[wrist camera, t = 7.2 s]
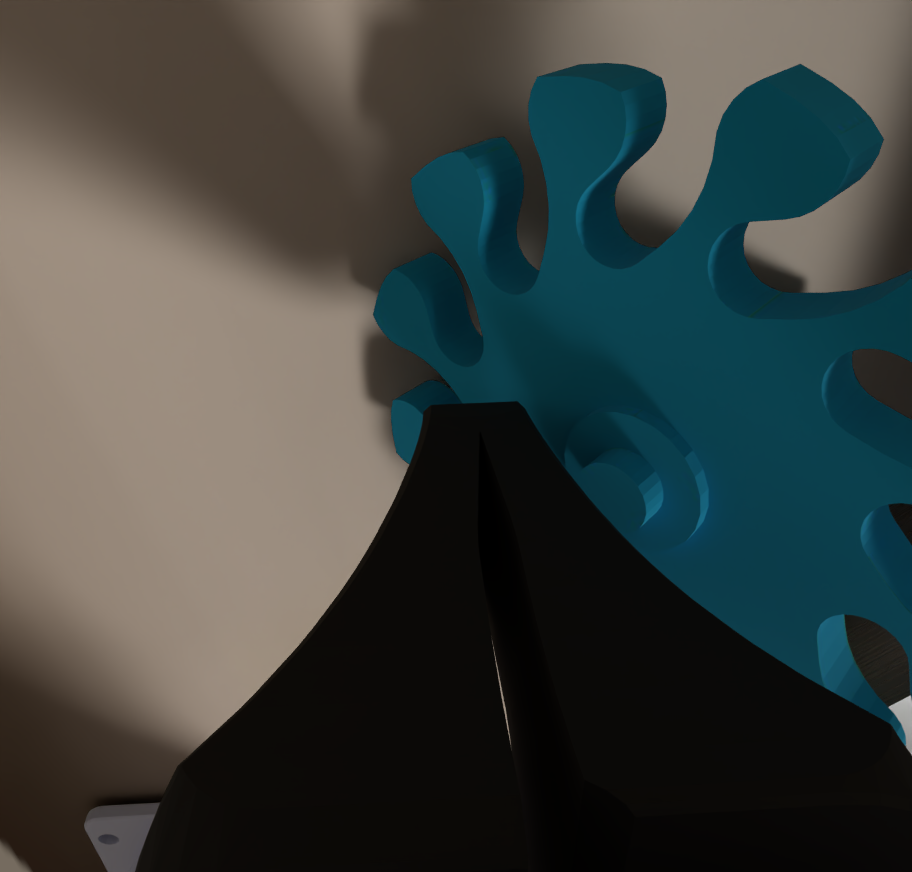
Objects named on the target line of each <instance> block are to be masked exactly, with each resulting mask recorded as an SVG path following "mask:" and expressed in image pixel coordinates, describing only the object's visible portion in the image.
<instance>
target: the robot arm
mask: <svg viewBox="0 0 912 872" xmlns="http://www.w3.org/2000/svg"><path fill="white" fill-rule="evenodd" d="M491 636H492V637H491ZM492 641H493V644H492ZM493 646H494V650H493ZM494 652H495V656H494ZM495 657H496V661H495ZM496 662H497V667H498V672H499V677H500V682H501V687H502V692H503V697H504V702H505V707H506V713H507V720H508V726H509V733H510V740H511V745H510V740H509V735H508V729H507V724H506V719H505V713H504V708H503V703H502V697H501V691H500V685H499V679H498V673H497V667H496ZM511 750H512V751H511ZM84 828H85V831H86V832H87V834H88V836H89V838H90V840H91V842H92V843H93V845H94V847H95V849H96V851H97V853H98V855H99V856H100V858H101V860H102V862H103V864H104V866H105V867H106V869H107V871H108V872H912V755H911V753H910V752H909V750H908V749H907V748H906V746H905V745H904V743H903V742H902V741H901V739H900V738H899V736H898V735H897V733H896V731H895V730H894V728H893V726H892V725H891V724H890V723H888V722H886V721H884V720H883V719H881V718H879V717H877V716H875V715H874V714H872V713H870V712H868V711H866V710H865V709H863V708H861V707H859V706H857V705H855V704H854V703H852V702H850V701H848V700H846V699H845V698H843V697H841V696H839V695H837V694H836V693H834V692H832V691H830V690H828V689H827V688H825V687H823V686H821V685H819V684H817V683H816V682H814V681H812V680H810V679H808V678H807V677H805V676H803V675H802V674H800V673H798V672H797V671H795V670H794V669H792V668H791V667H789V666H787V665H786V664H784V663H783V662H781V661H780V660H778V659H777V658H775V657H773V656H772V655H770V654H769V653H767V652H766V651H764V650H762V649H761V648H759V647H758V646H756V645H755V644H753V643H752V642H750V641H749V640H747V639H746V638H745V637H743V636H742V635H740V634H739V633H737V632H736V631H735V630H733V629H732V628H731V627H729V626H728V625H727V624H725V623H724V622H723V621H721V620H720V619H719V618H717V617H716V616H714V615H713V614H712V613H710V612H709V611H708V610H706V609H705V608H704V607H702V606H701V605H700V604H698V603H697V602H696V601H694V600H693V599H692V598H690V597H689V596H688V595H687V594H686V593H684V592H683V591H682V590H681V589H680V588H679V587H677V586H676V585H675V584H674V583H673V582H671V581H670V580H669V579H668V578H667V577H666V576H665V575H663V574H662V573H661V572H660V571H659V570H658V569H657V568H656V567H655V566H654V565H652V564H651V563H650V562H649V561H648V560H647V559H646V558H645V557H644V556H643V555H642V554H641V553H640V552H639V551H638V550H637V549H636V548H635V547H634V546H633V545H632V544H631V543H630V542H629V541H628V540H627V539H626V538H625V537H624V536H623V535H622V534H621V533H620V532H619V531H618V530H617V529H616V528H615V527H614V526H613V525H612V523H611V522H610V521H609V520H608V519H607V518H606V517H605V516H604V515H603V514H602V513H601V511H600V510H599V509H598V508H597V507H596V506H595V505H594V503H593V502H592V501H591V500H590V499H589V498H588V496H587V495H586V494H585V493H584V491H583V490H582V489H581V488H580V486H579V485H578V484H577V483H576V481H575V480H574V479H573V478H572V476H571V475H570V474H569V473H568V471H567V470H566V469H565V468H564V466H563V465H562V464H561V462H560V461H559V460H558V458H557V457H556V455H555V454H554V453H553V451H552V450H551V448H550V447H549V446H548V444H547V443H546V441H545V440H544V438H543V437H542V435H541V434H540V432H539V431H538V429H537V428H536V426H535V425H534V423H533V421H532V420H531V418H530V416H529V415H528V413H527V411H526V409H525V408H524V407H523V406H522V405H521V404H520V403H519V402H518V401H510V402H486V403H462V404H438V405H430V406H429V407H428V408H427V409H426V410H425V411H424V412H423V421H422V426H421V431H420V435H419V438H418V442H417V445H416V448H415V451H414V454H413V456H412V459H411V462H410V465H409V467H408V469H407V472H406V474H405V476H404V479H403V481H402V483H401V486H400V488H399V491H398V493H397V495H396V497H395V499H394V502H393V504H392V506H391V507H390V509H389V511H388V513H387V515H386V517H385V519H384V521H383V523H382V524H381V526H380V528H379V530H378V532H377V534H376V536H375V538H374V540H373V541H372V543H371V545H370V546H369V548H368V550H367V551H366V553H365V555H364V556H363V558H362V560H361V561H360V563H359V564H358V566H357V568H356V569H355V571H354V572H353V574H352V575H351V577H350V578H349V580H348V581H347V583H346V584H345V586H344V587H343V589H342V590H341V591H340V593H339V594H338V596H337V597H336V598H335V600H334V601H333V602H332V604H331V605H330V606H329V608H328V609H327V610H326V612H325V613H324V614H323V616H322V617H321V618H320V620H319V621H318V622H317V624H316V625H315V626H314V627H313V629H312V630H311V631H310V632H309V634H308V635H307V636H306V637H305V639H304V640H303V641H302V642H301V643H300V645H299V646H298V647H297V648H296V649H295V650H294V651H293V653H292V654H291V655H290V656H289V657H288V658H287V659H286V660H285V661H284V662H283V663H282V665H281V666H280V667H279V668H278V669H277V670H276V671H275V672H274V673H273V674H272V675H271V677H270V678H269V679H268V680H267V681H266V682H265V683H264V684H263V685H262V686H261V687H260V689H259V690H258V691H257V692H256V693H255V694H254V695H253V696H252V697H251V698H250V699H249V700H248V701H247V702H246V703H245V704H244V705H243V706H242V707H241V708H240V709H239V710H238V711H237V712H236V713H235V714H234V715H233V716H232V717H230V718H229V719H228V720H227V721H226V722H225V723H224V724H223V725H222V726H221V727H220V728H219V729H217V730H216V731H215V732H214V733H213V734H212V735H211V736H210V737H209V738H208V739H207V740H206V741H204V742H203V743H202V744H201V745H200V746H199V747H198V748H197V749H196V750H195V751H194V752H193V753H191V754H190V755H189V756H188V757H187V758H186V759H185V760H184V761H183V762H181V763H180V764H179V765H178V766H177V768H176V770H175V772H174V774H173V776H172V778H171V780H170V783H169V785H168V787H167V789H166V791H165V793H164V796H163V798H162V800H161V802H158V803H141V804H123V805H106V806H98V807H95V808H93V809H92V810H90V811H89V812H88V814H87V817H86V820H85V823H84Z"/></svg>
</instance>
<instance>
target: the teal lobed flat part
mask: <svg viewBox="0 0 912 872" xmlns="http://www.w3.org/2000/svg"><path fill="white" fill-rule="evenodd" d="M666 107H667V103H666V91H665V88H664V84H663V81H662V78H661V77H659V76H657V75H655V74H653V73H651V72H649V71H647V70H645V69H642V68H638V67H634V66H630V65H626V64H612V63H598V64H580V65H576V66H573V67H570V68H566V69H563V70H559V71H556V72H552V73H549V74H546V75H542V76H539V77H537V79H536V81H535V83H534V85H533V88H532V90H531V94H530V100H529V105H528V120H529V125H530V130H531V135H532V138H533V141H534V143H535V146H536V149H537V151H538V154H539V156H540V159H541V163H542V168H543V172H544V176H545V180H546V186H547V195H548V204H549V219H548V234H547V240H546V245H545V251H544V255H543V259H542V263H541V267H540V271H538V270H537V269H535V268H534V267H533V266H532V265H531V264H530V263H529V262H528V261H527V260H526V258H525V257H524V255H523V253H522V251H521V249H520V247H519V243H518V240H517V231H516V229H517V221H518V216H519V211H520V207H521V202H522V198H523V191H524V178H523V172H522V168H521V164H520V161H519V159H518V156H517V154H516V152H515V151H514V149H513V148H512V146H511V144H510V143H509V142H508V141H507V140H506V139H505V138H504V137H500V138H491V139H488V140H485V141H482V142H479V143H477V144H474V145H471V146H468V147H465V148H462V149H459V150H456V151H453V152H451V153H448V154H445V155H443V156H440V157H438V158H436V159H435V160H433V161H432V162H430V163H429V164H427V165H426V166H425V167H423V168H422V169H421V170H420V171H419V172H418V173H417V174H416V175H415V176H413V177H412V178H411V183H412V192H413V196H414V200H415V203H416V206H417V208H418V210H419V212H420V214H421V216H422V217H423V219H424V220H425V222H426V223H427V225H428V226H429V227H430V228H431V229H432V230H433V231H434V232H435V233H436V234H437V235H438V236H439V237H440V238H441V240H442V241H443V243H444V244H445V245H446V247H447V248H448V249H449V251H450V252H451V253H452V255H453V257H454V258H455V260H456V262H457V264H458V265H459V267H460V269H461V270H462V272H463V274H464V277H465V279H466V281H467V284H468V286H469V288H470V291H471V294H472V297H473V300H474V304H475V307H476V310H477V314H478V318H479V323H480V327H481V331H482V335H483V337H482V336H481V335H480V334H479V333H478V332H477V330H476V329H475V327H474V325H473V323H472V321H471V318H470V316H469V312H468V308H467V304H466V300H465V295H464V291H463V288H462V285H461V282H460V280H459V278H458V276H457V274H456V273H455V271H454V270H453V268H452V267H451V266H450V265H449V264H448V263H447V262H446V261H445V260H444V259H443V258H441V257H440V256H439V255H436V254H434V253H432V252H431V253H429V254H427V255H424V256H422V257H420V258H418V259H415V260H413V261H411V262H409V263H406V264H404V265H402V266H399V267H397V268H395V269H393V270H392V271H391V272H390V273H389V274H388V275H387V276H386V278H385V280H384V282H383V284H382V285H381V288H380V291H379V294H378V297H377V300H376V305H375V309H374V313H373V316H374V318H375V320H376V322H377V324H378V326H379V327H380V328H381V330H382V331H383V333H384V334H385V335H386V336H387V337H388V338H389V339H390V340H391V341H392V342H394V343H395V344H396V345H398V346H400V347H402V348H405V349H407V350H409V351H411V352H413V353H414V354H416V355H417V356H419V357H420V358H422V359H423V360H425V361H426V362H427V363H428V364H429V365H430V366H432V367H433V368H434V369H435V370H436V371H437V372H438V373H439V374H440V375H441V376H442V377H443V378H444V379H445V380H446V382H447V383H448V384H449V385H450V387H451V388H452V389H453V391H454V392H455V393H456V394H455V393H454V392H453V391H452V390H451V389H450V388H449V387H447V386H446V385H445V384H443V383H440V382H438V381H433V380H431V381H426V382H424V383H422V384H421V385H419V386H417V387H415V388H414V389H412V390H410V391H409V392H407V393H405V394H403V395H402V396H400V397H398V398H396V399H395V400H393V403H392V409H391V423H392V431H393V437H394V442H395V447H396V452H397V453H398V455H399V456H400V457H401V458H402V459H403V460H404V461H406V462H407V463H408V464H410V462H411V459H412V456H413V454H414V451H415V448H416V445H417V442H418V438H419V435H420V431H421V426H422V421H423V412H424V411H425V410H426V409H427V408H428V407H429V406H430V405H438V404H462V403H486V402H510V401H518V402H519V403H520V404H521V405H522V406H523V407H524V408H525V409H526V411H527V413H528V415H529V416H530V418H531V420H532V421H533V423H534V425H535V426H536V428H537V429H538V431H539V432H540V434H541V435H542V437H543V438H544V440H545V441H546V443H547V444H548V446H549V447H550V448H551V450H552V451H553V453H554V454H555V455H556V457H557V458H558V460H559V461H560V462H561V464H562V465H563V466H564V468H565V469H566V470H567V471H568V473H569V474H570V475H571V476H572V478H573V479H574V480H575V481H576V483H577V484H578V485H579V486H580V488H581V489H582V490H583V491H584V493H585V494H586V495H587V496H588V498H589V499H590V500H591V501H592V502H593V503H594V505H595V506H596V507H597V508H598V509H599V510H600V511H601V513H602V514H603V515H604V516H605V517H606V518H607V519H608V520H609V521H610V522H611V523H612V525H613V526H614V527H615V528H616V529H617V530H618V531H619V532H620V533H621V534H622V535H623V536H624V537H625V538H626V539H627V540H628V541H629V542H630V543H631V544H632V545H633V546H634V547H635V548H636V549H637V550H638V551H639V552H640V553H641V554H642V555H643V556H644V557H645V558H646V559H647V560H648V561H649V562H650V563H651V564H652V565H654V566H655V567H656V568H657V569H658V570H659V571H660V572H661V573H662V574H663V575H665V576H666V577H667V578H668V579H669V580H670V581H671V582H673V583H674V584H675V585H676V586H677V587H679V588H680V589H681V590H682V591H683V592H684V593H686V594H687V595H688V596H689V597H690V598H692V599H693V600H694V601H696V602H697V603H698V604H700V605H701V606H702V607H704V608H705V609H706V610H708V611H709V612H710V613H712V614H713V615H714V616H716V617H717V618H719V619H720V620H721V621H723V622H724V623H725V624H727V625H728V626H729V627H731V628H732V629H733V630H735V631H736V632H737V633H739V634H740V635H742V636H743V637H745V638H746V639H747V640H749V641H750V642H752V643H753V644H755V645H756V646H758V647H759V648H761V649H762V650H764V651H766V652H767V653H769V654H770V655H772V656H773V657H775V658H777V659H778V660H780V661H781V662H783V663H784V664H786V665H787V666H789V667H791V668H792V669H794V670H795V671H797V672H798V673H800V674H802V675H803V676H805V677H807V678H808V679H810V680H812V681H814V682H816V683H817V684H819V685H821V686H823V687H825V688H827V689H828V690H830V691H832V692H834V693H836V694H837V695H839V696H841V697H843V698H845V699H846V700H848V701H850V702H852V703H854V704H855V705H857V706H859V707H861V708H863V709H865V710H866V711H868V712H870V713H872V714H874V715H875V716H877V717H879V718H881V719H883V720H884V721H886V722H888V723H890V724H891V725H892V726H893V728H894V730H895V731H896V733H897V735H898V736H899V738H900V739H901V741H902V742H903V743H904V745H905V746H906V735H905V732H904V730H903V727H902V724H901V723H900V721H899V720H898V718H897V717H896V715H895V714H894V713H893V712H892V711H891V710H890V709H889V707H888V706H887V705H886V704H885V703H884V702H883V701H882V700H881V699H880V698H879V697H878V696H877V694H876V693H875V692H874V690H873V689H872V688H871V686H870V685H869V684H868V682H867V681H866V680H865V678H864V676H863V675H862V673H861V671H860V669H859V667H858V666H857V664H856V662H855V660H854V657H853V655H852V652H851V649H850V647H849V644H848V640H847V634H846V628H845V618H844V615H855V616H859V617H863V618H866V619H868V620H870V621H873V622H875V623H877V624H878V625H880V626H881V627H883V628H884V629H886V630H887V631H888V632H890V633H891V634H892V635H893V636H894V637H895V638H896V639H897V640H898V642H899V643H900V644H901V645H902V647H903V648H904V651H905V653H906V655H907V657H908V662H909V677H910V694H911V700H912V545H911V544H910V542H909V541H908V539H907V538H906V536H905V535H904V533H903V532H902V530H901V529H900V527H899V526H898V524H897V523H896V521H895V520H894V518H893V516H892V514H891V512H890V510H889V506H888V504H897V503H905V504H912V420H911V419H909V418H907V417H906V416H904V415H902V414H900V413H899V412H897V411H895V410H893V409H891V408H890V407H888V406H886V405H884V404H883V403H881V402H879V401H878V400H876V399H875V398H873V397H872V396H870V395H869V394H868V393H867V392H866V391H865V390H864V389H863V388H862V387H861V385H860V384H859V382H858V380H857V378H856V377H855V374H854V370H853V367H852V354H853V351H855V350H859V349H879V350H884V351H889V352H891V353H893V354H896V355H898V356H901V357H903V358H905V359H906V360H908V361H910V362H912V270H910V271H909V272H907V273H905V274H903V275H900V276H898V277H895V278H893V279H891V280H888V281H886V282H883V283H881V284H878V285H873V286H869V287H865V288H861V289H857V290H853V291H841V292H829V293H790V292H781V291H778V290H775V289H773V288H770V287H769V286H767V285H766V284H764V283H762V282H761V281H760V280H759V279H758V278H757V277H756V276H755V275H754V274H753V272H752V271H751V269H750V267H749V266H748V264H747V261H746V258H745V255H744V246H743V242H744V234H745V231H746V228H747V226H748V223H749V222H753V221H768V220H783V219H790V218H795V217H800V216H803V215H805V214H807V213H810V212H812V211H814V210H816V209H817V208H819V207H820V206H822V205H823V204H825V203H826V202H828V201H829V200H831V199H832V198H834V197H835V196H837V195H838V194H840V193H841V192H843V191H844V190H846V189H847V188H849V187H850V186H851V185H853V184H854V183H856V182H857V181H858V180H860V179H861V178H862V177H863V176H864V174H865V173H866V172H867V171H868V170H869V169H870V168H871V166H872V165H873V163H874V161H875V160H876V158H877V156H878V155H879V152H880V149H881V146H882V143H883V140H884V139H883V137H882V135H881V134H880V132H879V130H878V129H877V127H876V125H875V124H874V122H873V121H872V119H871V117H870V116H869V115H868V114H867V113H866V112H865V111H864V110H863V109H862V108H861V107H860V106H859V105H858V104H857V103H856V102H855V100H853V99H852V98H851V97H850V96H848V95H847V94H846V93H844V92H843V91H842V90H840V89H839V88H838V87H837V86H835V85H834V84H833V83H831V82H830V81H828V80H826V79H825V78H823V77H821V76H820V75H818V74H816V73H815V72H813V71H812V70H810V69H808V68H807V67H805V66H803V65H802V64H799V65H796V66H794V67H792V68H789V69H787V70H784V71H782V72H779V73H777V74H774V75H772V76H769V77H767V78H764V79H762V80H760V81H758V82H756V83H754V84H752V85H750V86H749V87H747V88H746V89H744V90H743V91H742V92H741V93H740V94H739V95H738V96H737V97H736V98H734V99H733V101H732V102H731V104H730V105H729V107H728V108H727V110H726V111H725V113H724V114H723V116H722V119H721V122H720V124H719V127H718V130H717V133H716V140H715V146H714V153H713V159H712V163H711V166H710V169H709V173H708V176H707V179H706V182H705V185H704V188H703V190H702V192H701V194H700V196H699V198H698V200H697V202H696V204H695V206H694V208H693V210H692V211H691V213H690V214H689V215H688V217H687V218H686V219H685V221H684V222H683V223H682V225H681V226H680V227H679V229H678V230H677V231H676V232H675V233H674V234H673V235H672V236H671V237H669V238H668V239H667V240H666V241H665V242H664V243H663V244H662V245H661V246H660V247H658V248H653V247H647V246H644V245H641V244H639V243H638V242H636V241H634V240H633V239H632V238H631V237H630V236H629V235H628V234H627V233H626V232H625V231H624V229H623V228H622V226H621V225H620V222H619V220H618V218H617V215H616V210H615V192H616V188H617V185H618V183H619V181H620V178H621V177H622V176H623V174H624V173H625V172H626V171H627V170H628V169H629V168H630V167H631V166H632V165H633V164H634V163H635V162H636V161H638V160H639V159H640V158H641V157H642V156H643V155H644V154H645V153H646V152H647V151H648V150H649V149H650V148H651V147H652V146H653V145H654V143H655V142H656V141H657V139H658V137H659V135H660V133H661V131H662V128H663V125H664V121H665V117H666Z"/></svg>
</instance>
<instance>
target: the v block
mask: <svg viewBox="0 0 912 872" xmlns="http://www.w3.org/2000/svg"><path fill="white" fill-rule="evenodd" d="M888 506H889V510H890V512H891V514H892V516H893V518H894V520H895V521H896V523H897V524H898V526H899V527H900V529H901V530H902V532H903V533H904V535H905V536H906V538H907V539H908V541H909V542H910V544H911V545H912V504H905V503H897V504H888ZM844 618H845V628H846V634H847V640H848V644H849V647H850V649H851V652H852V655H853V657H854V660H855V662H856V664H857V666H858V667H859V669H860V671H861V673H862V675H863V676H864V678H865V680H866V681H867V682H868V684H869V685H870V686H871V688H872V689H873V690H874V692H875V693H876V694H877V696H878V697H879V698H880V699H881V700H882V701H883V702H884V703H885V704H886V705H887V706H888V707H889V709H890V710H891V711H892V712H893V713H894V714H895V715H896V717H897V718H898V720H899V721H900V723H901V724H902V727H903V730H904V732H905V735H906V748H907V749H908V750H909V752H910V753H911V755H912V700H911V694H910V677H909V662H908V657H907V655H906V653H905V651H904V648H903V647H902V645H901V644H900V643H899V642H898V640H897V639H896V638H895V637H894V636H893V635H892V634H891V633H890V632H888V631H887V630H886V629H884V628H883V627H881V626H880V625H878V624H877V623H875V622H873V621H870V620H868V619H866V618H863V617H859V616H855V615H844Z"/></svg>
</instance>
